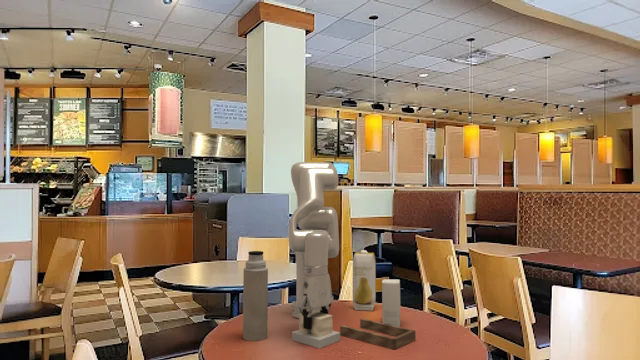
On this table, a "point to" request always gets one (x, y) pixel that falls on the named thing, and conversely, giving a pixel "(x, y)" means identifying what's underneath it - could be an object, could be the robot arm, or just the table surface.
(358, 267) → the juice carton
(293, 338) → the plate
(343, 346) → the table surface
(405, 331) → the shelf bay
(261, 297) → the thermos bottle
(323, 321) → the parcel
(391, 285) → the skincare box
